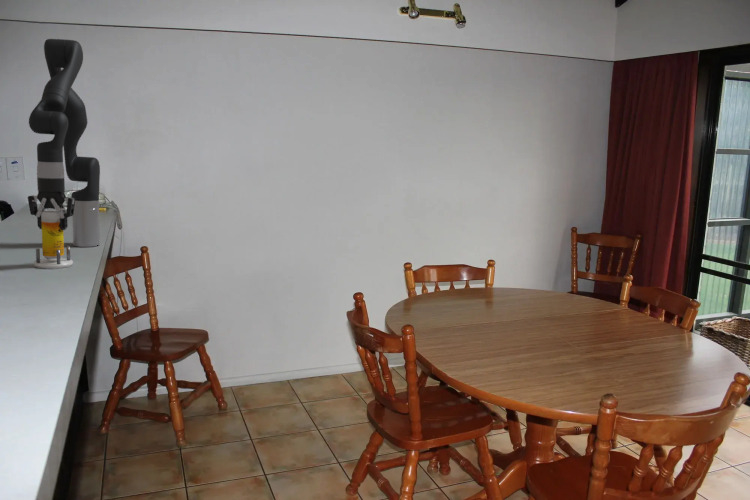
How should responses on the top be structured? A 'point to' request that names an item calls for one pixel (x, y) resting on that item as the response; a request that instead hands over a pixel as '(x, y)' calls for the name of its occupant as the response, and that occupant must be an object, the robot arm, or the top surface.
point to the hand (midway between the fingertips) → (52, 229)
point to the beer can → (52, 234)
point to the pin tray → (53, 261)
